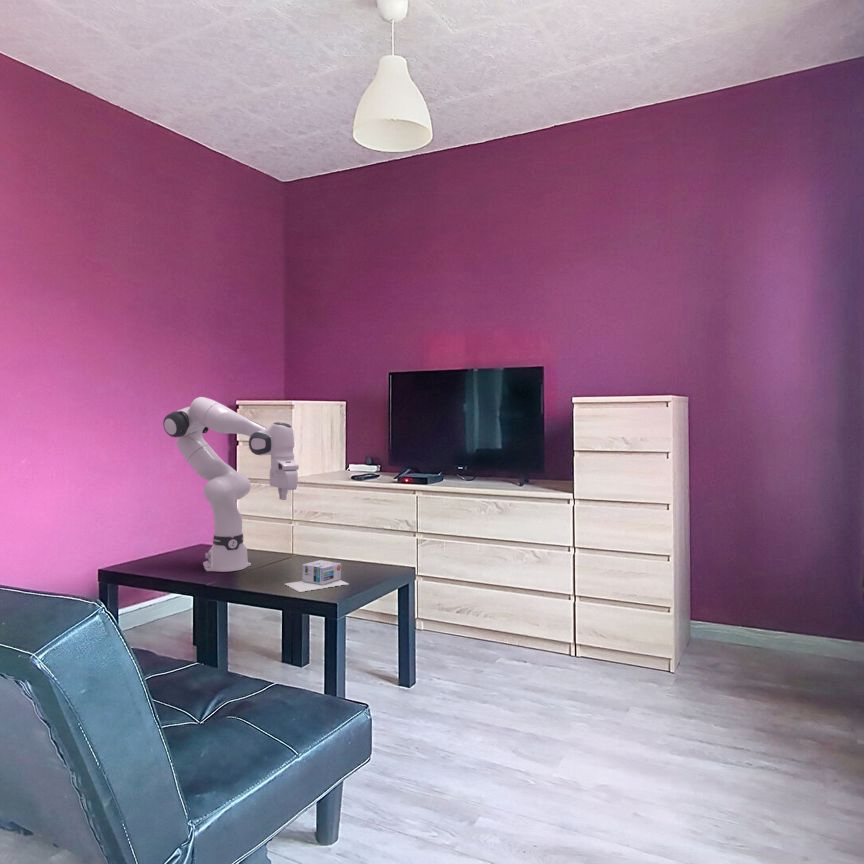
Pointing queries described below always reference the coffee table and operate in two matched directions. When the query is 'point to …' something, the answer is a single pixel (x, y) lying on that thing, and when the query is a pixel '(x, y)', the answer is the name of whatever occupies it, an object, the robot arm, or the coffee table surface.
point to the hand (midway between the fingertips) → (282, 499)
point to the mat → (313, 585)
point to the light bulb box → (321, 572)
